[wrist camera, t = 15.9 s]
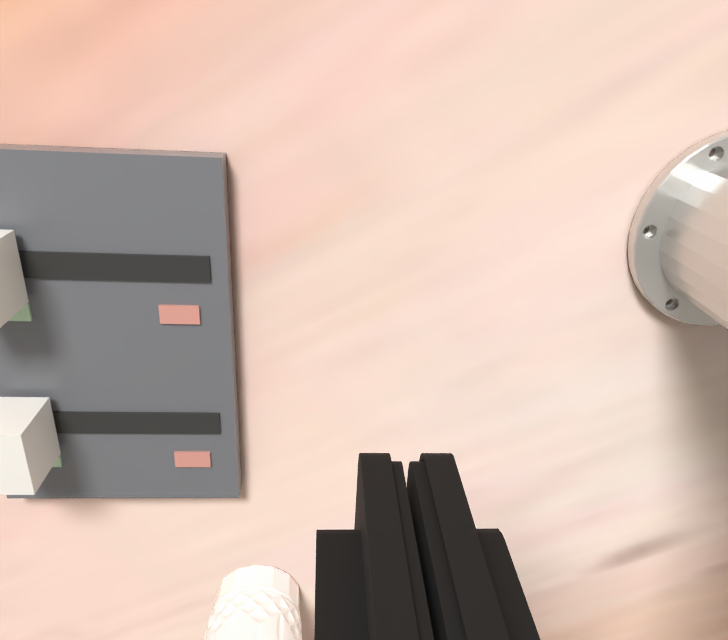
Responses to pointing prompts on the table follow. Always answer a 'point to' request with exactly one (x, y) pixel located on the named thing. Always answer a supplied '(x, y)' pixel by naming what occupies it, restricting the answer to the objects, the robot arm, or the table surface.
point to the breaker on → (26, 444)
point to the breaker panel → (125, 318)
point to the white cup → (256, 606)
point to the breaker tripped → (10, 278)
